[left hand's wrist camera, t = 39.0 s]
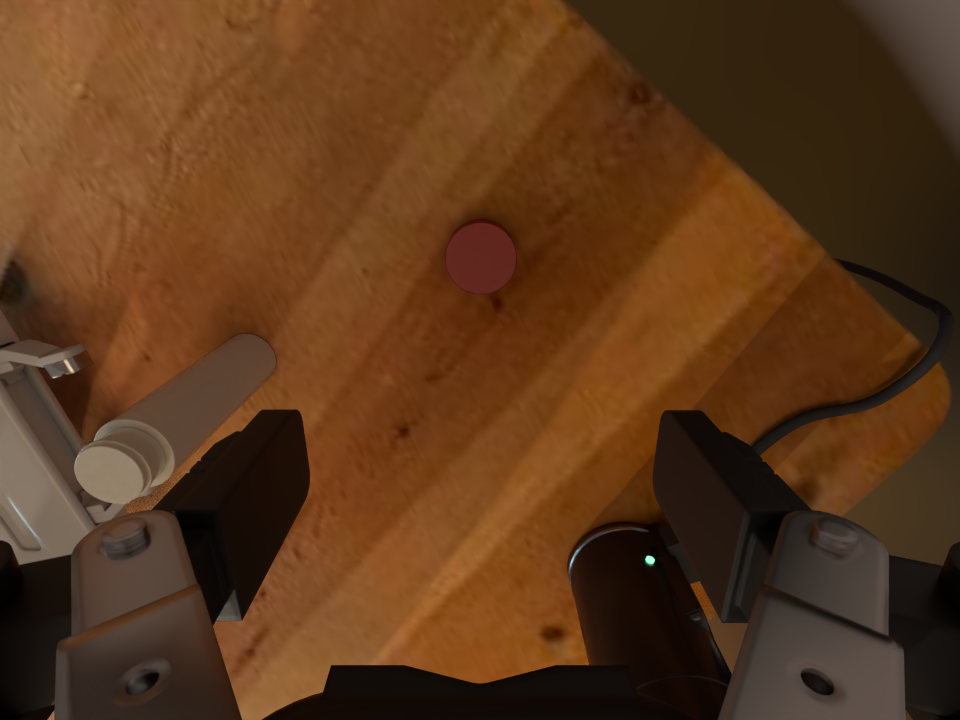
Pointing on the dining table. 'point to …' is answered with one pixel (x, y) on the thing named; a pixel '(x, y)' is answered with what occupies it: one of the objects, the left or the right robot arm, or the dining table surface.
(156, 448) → the bottle
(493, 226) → the lid
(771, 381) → the dining table surface
